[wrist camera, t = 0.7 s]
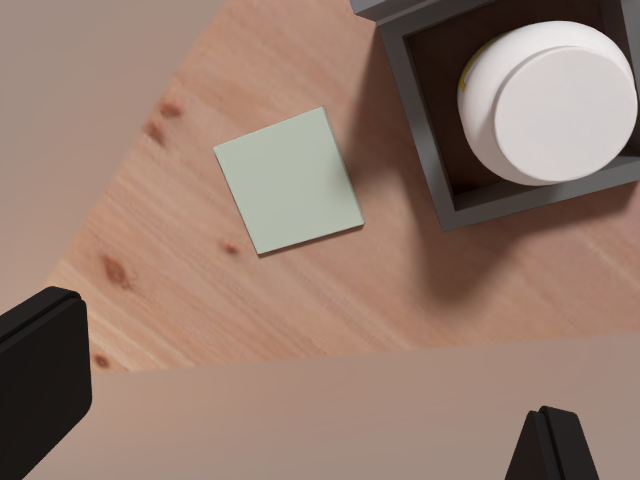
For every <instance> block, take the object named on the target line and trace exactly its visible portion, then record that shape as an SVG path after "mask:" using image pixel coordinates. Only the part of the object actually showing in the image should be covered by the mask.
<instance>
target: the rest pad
mask: <svg viewBox="0 0 640 480" xmlns="http://www.w3.org/2000/svg"><path fill="white" fill-rule="evenodd" d="M213 149H214V151H215V154H216V156H217V158H218V161H219V163H220V165H221V168H222V170H223V173H224V175H225V177H226V180H227V182H228V184H229V187H230V189H231V192H232V194H233V196H234V199H235V201H236V203H237V206H238V208H239V211H240V213H241V215H242V218H243V220H244V222H245V225H246V227H247V229H248V232H249V234H250V237H251V239H252V241H253V244H254V246H255V248H256V251H257V253H258V254H261V253H264V252H268V251H271V250H275V249H278V248H282V247H285V246H289V245H292V244H296V243H299V242H303V241H306V240H310V239H313V238H317V237H320V236H324V235H327V234H330V233H334V232H337V231H341V230H344V229H348V228H351V227H355V226H358V225H362V224H364V222H365V220H364V217H363V214H362V211H361V208H360V206H359V203H358V200H357V197H356V194H355V192H354V189H353V186H352V183H351V180H350V177H349V175H348V172H347V169H346V166H345V163H344V161H343V158H342V155H341V152H340V149H339V146H338V144H337V141H336V138H335V135H334V132H333V130H332V127H331V124H330V121H329V118H328V115H327V113H326V110H325V107H324V106H322V107H319V108H316V109H314V110H311V111H308V112H306V113H303V114H300V115H298V116H295V117H292V118H290V119H287V120H284V121H282V122H279V123H276V124H274V125H271V126H268V127H266V128H263V129H260V130H257V131H255V132H252V133H249V134H247V135H244V136H241V137H239V138H236V139H233V140H231V141H228V142H225V143H223V144H220V145H217V146H215V147H213Z"/></svg>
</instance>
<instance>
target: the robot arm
mask: <svg viewBox="0 0 640 480" xmlns="http://www.w3.org/2000/svg"><path fill="white" fill-rule="evenodd" d="M91 403H92V387H91V370H90V354H89V338H88V322H87V307H86V303H85V301H83V300H82V299H81V296H80V294H79V293H77V292H76V291H72V290H68V289H63V288H59V287H55V286H50V287H47V288H45V289H44V290H42V291H40V292H39V293H37V294H35V295H34V296H32V297H31V298H29V299H27V300H26V301H24V302H23V303H21V304H19V305H17V306H16V307H14V308H12V309H11V310H9V311H7V312H6V313H4V314H2V315H1V316H0V480H22V479H23V478H24V477H25V476H26V475H27V474H28V473H29V472H30V471H31V470H32V469H33V468H34V467H35V466H36V465H37V464H38V463H39V462H40V461H41V460H42V459H43V458H44V457H45V456H46V455H47V454H48V453H49V452H50V451H51V449H53V448H54V447H55V445H57V444H58V443H59V442H60V441H61V440H62V439H63V438H64V436H66V434H67V433H68V432H69V431H70V430H71V429H72V428H73V427H74V426H75V425H76V424H77V423H78V422H79V421H80V420H81V419H82V418H83V417H84V416H85V415H86V414H87V412H88V411H89V409H90V406H91ZM505 480H599V477H598V474H597V471H596V468H595V465H594V462H593V460H592V456H591V454H590V451H589V448H588V445H587V442H586V439H585V436H584V433H583V430H582V427H581V424H580V421H579V418H578V416H577V414H575V413H573V412H569V411H565V410H560V409H556V408H553V407H548V406H542V407H541V408H540V409H539V411H538V412H536V411H529V413H528V415H527V417H526V420H525V422H524V425H523V429H522V431H521V434H520V437H519V440H518V443H517V446H516V448H515V451H514V454H513V457H512V460H511V463H510V465H509V468H508V471H507V474H506V477H505Z"/></svg>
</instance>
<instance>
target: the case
mask: <svg viewBox="0 0 640 480" xmlns="http://www.w3.org/2000/svg"><path fill="white" fill-rule="evenodd" d="M496 1H498V0H350V3H351V7H352V10H353V13H354V14H355V15H358V16H361V17H363V18H366V19H369V20H372V21H375V22H376V24H377V26H378V28H379V31H380V34H381V37H382V40H383V43H384V47H385V50H386V53H387V56H388V59H389V63H390V66H391V69H392V72H393V75H394V78H395V82H396V85H397V88H398V91H399V94H400V98H401V101H402V104H403V107H404V110H405V114H406V117H407V120H408V123H409V126H410V129H411V133H412V136H413V139H414V142H415V145H416V149H417V152H418V155H419V158H420V161H421V164H422V168H423V171H424V174H425V177H426V180H427V184H428V187H429V190H430V193H431V196H432V200H433V203H434V206H435V209H436V212H437V215H438V219H439V222H440V225H441V228H442V231H443V232H446V231H449V230H453V229H457V228H461V227H464V226H468V225H472V224H476V223H479V222H483V221H487V220H491V219H494V218H498V217H502V216H506V215H509V214H513V213H517V212H521V211H524V210H528V209H532V208H536V207H539V206H543V205H547V204H551V203H554V202H558V201H562V200H566V199H569V198H573V197H577V196H581V195H584V194H588V193H592V192H596V191H599V190H603V189H607V188H611V187H614V186H618V185H622V184H625V183H629V182H633V181H637V180H640V0H599V4H600V9H601V14H602V19H603V24H604V29H605V34H606V36H607V37H608V38H609V39H611V40H612V41H613V42H614V43H615V44H616V45H617V46H618V48H619V49H620V50H621V51H622V53H623V54H624V56H625V58H626V60H627V62H628V64H629V66H630V68H631V71H632V75H633V78H634V86H635V90H636V96H637V117H636V122H635V126H634V128H633V131H632V134H631V136H630V138H629V139H628V141H627V143H628V146H624V148H623V149H622V150H621V151H620V152H619V153H618V155H617V156H616V157H615V158H614V159H613V160H612V161H610V162H609V163H608V164H607V165H605V166H604V167H603V168H601V169H599V170H598V171H596V172H594V173H592V174H590V175H588V176H585V177H582V178H579V179H576V180H571V181H565V182H562V183H557V184H552V185H540V186H533V185H524V184H519V183H515V182H512V181H509V180H506V181H503V182H499V183H496V184H492V185H489V186H485V187H482V188H478V189H475V190H471V191H468V192H464V193H461V194H457V195H454V194H453V191H452V187H451V184H450V181H449V177H448V174H447V171H446V167H445V164H444V161H443V158H442V154H441V151H440V148H439V144H438V141H437V138H436V134H435V131H434V128H433V124H432V121H431V118H430V114H429V111H428V108H427V104H426V101H425V98H424V95H423V91H422V88H421V85H420V81H419V78H418V75H417V71H416V68H415V65H414V61H413V58H412V55H411V51H410V48H409V45H408V41H407V38H406V37H408V36H410V35H413V34H415V33H418V32H420V31H423V30H425V29H428V28H430V27H433V26H435V25H438V24H440V23H443V22H445V21H448V20H450V19H453V18H455V17H458V16H460V15H463V14H465V13H468V12H470V11H473V10H476V9H478V8H481V7H483V6H486V5H488V4H491V3H493V2H496Z"/></svg>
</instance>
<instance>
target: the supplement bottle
mask: <svg viewBox="0 0 640 480" xmlns="http://www.w3.org/2000/svg"><path fill="white" fill-rule="evenodd" d="M457 104H458V110H459V115H460V118H461V121H462V125H463V128H464V132H465V136H466V139H467V141H468V143H469V145H470V147H471V149H472V151H473V152H474V154H475V155H476V156H477V158H478V159H479V160H480V161H481V162H482V163H483V165H485V166H486V167H487V168H488V169H489V170H491V171H492V172H494V173H495V174H497V175H498V176H500V177H502V178H504V179H506V180H509V181H512V182H515V183H519V184H524V185H533V186H540V185H552V184H557V183H562V182H565V181H571V180H576V179H579V178H582V177H585V176H588V175H590V174H592V173H594V172H596V171H598V170H599V169H601V168H603V167H604V166H605V165H607V164H608V163H609V162H610V161H612V160H613V159H614V158H615V157H616V156H617V155H618V153H619V152H620V151H621V150H622V149H623V148H624V146H625V144H626V143H627V141H628V139H629V138H630V136H631V134H632V131H633V128H634V126H635V122H636V117H637V96H636V90H635V86H634V78H633V75H632V71H631V68H630V66H629V64H628V62H627V60H626V58H625V56H624V54H623V53H622V51H621V50H620V49H619V48H618V46H617V45H616V44H615V43H614V42H613V41H612V40H611V39H609V38H608V37H607V36H605V35H604V34H603V33H601V32H599V31H597V30H596V29H594V28H592V27H589V26H586V25H583V24H580V23H575V22H569V21H549V22H542V23H536V24H531V25H528V26H524V27H521V28H517V29H514V30H511V31H507V32H505V33H502V34H500V35H498V36H496V37H494V38H492V39H490V40H489V41H488V42H486V43H485V44H484V45H482V46H481V47H480V48H479V49H478V50H477V51H476V52H475V53H474V54H473V55H472V57H471V58H470V59H469V61H468V62H467V64H466V66H465V68H464V69H463V72H462V74H461V77H460V80H459V84H458V90H457Z"/></svg>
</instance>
